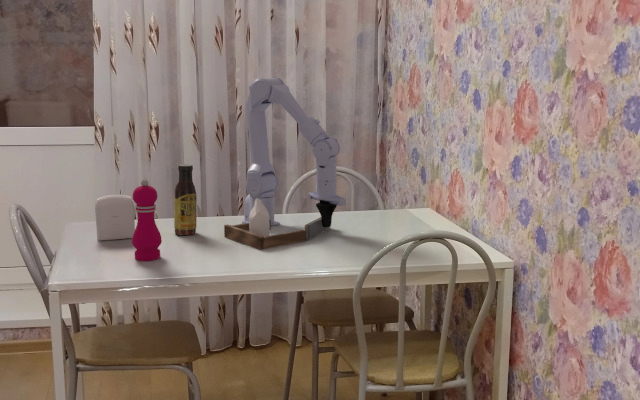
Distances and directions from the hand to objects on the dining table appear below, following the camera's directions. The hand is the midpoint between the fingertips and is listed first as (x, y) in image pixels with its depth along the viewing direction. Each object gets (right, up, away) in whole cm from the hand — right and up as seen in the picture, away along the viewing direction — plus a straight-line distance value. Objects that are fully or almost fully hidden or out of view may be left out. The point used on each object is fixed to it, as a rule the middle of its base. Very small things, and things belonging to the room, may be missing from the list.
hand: (326, 226), depth 204 cm
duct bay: (-17, -3, -7) cm, 19 cm away
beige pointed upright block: (-19, -4, -9) cm, 21 cm away
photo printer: (-59, -3, -8) cm, 59 cm away
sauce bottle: (-40, -2, -2) cm, 40 cm away
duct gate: (-2, -2, -1) cm, 3 cm away
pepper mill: (-45, -7, -26) cm, 53 cm away
